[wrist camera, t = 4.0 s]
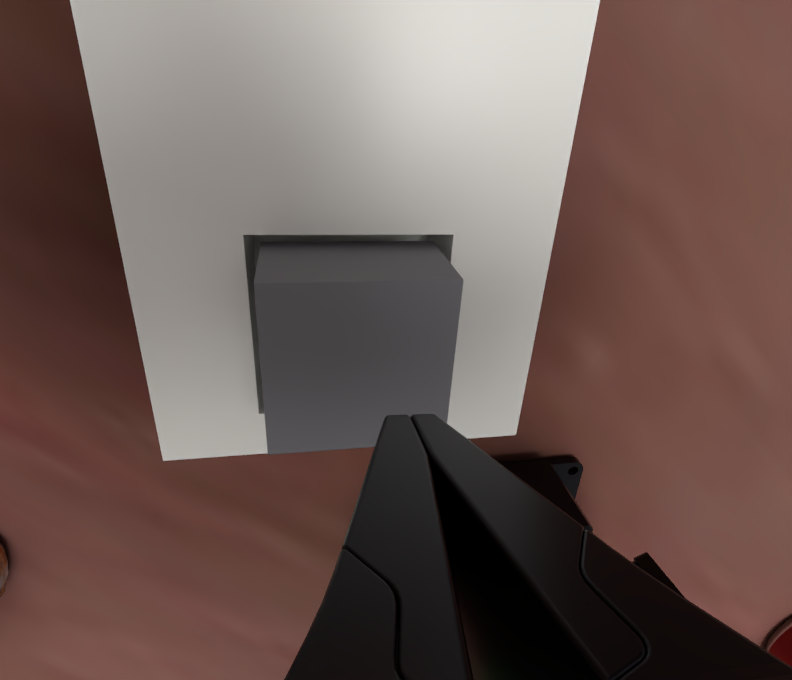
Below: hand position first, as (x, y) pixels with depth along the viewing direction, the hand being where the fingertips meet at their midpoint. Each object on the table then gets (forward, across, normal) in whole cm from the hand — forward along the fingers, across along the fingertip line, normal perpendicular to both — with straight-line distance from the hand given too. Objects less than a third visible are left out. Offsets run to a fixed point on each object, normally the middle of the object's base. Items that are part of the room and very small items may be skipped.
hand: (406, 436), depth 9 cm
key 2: (+8, 0, +1) cm, 8 cm away
